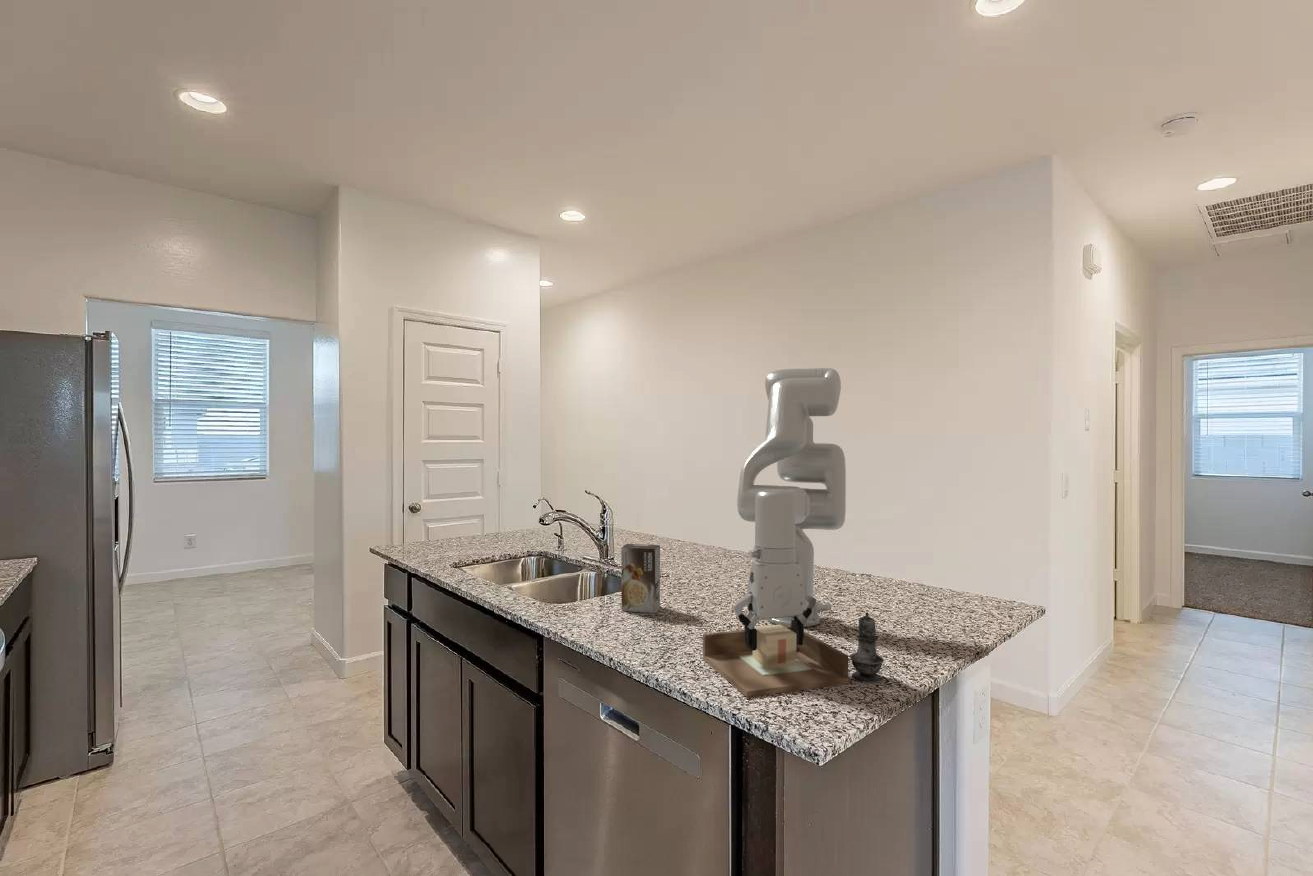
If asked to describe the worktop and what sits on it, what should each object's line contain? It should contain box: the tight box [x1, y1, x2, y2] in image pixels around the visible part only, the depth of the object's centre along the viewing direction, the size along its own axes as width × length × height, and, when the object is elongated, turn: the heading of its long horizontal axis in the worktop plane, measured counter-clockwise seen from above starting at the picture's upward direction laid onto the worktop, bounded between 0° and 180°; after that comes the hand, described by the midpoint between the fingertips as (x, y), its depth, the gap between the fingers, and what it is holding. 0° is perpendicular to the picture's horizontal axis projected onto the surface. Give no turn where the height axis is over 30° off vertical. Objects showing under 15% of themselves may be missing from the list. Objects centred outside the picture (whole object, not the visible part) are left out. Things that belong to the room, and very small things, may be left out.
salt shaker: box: [849, 611, 885, 684], centre depth 115 cm, size 6×6×12 cm
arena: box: [702, 625, 849, 698], centre depth 118 cm, size 20×19×5 cm
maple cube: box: [753, 624, 796, 669], centre depth 119 cm, size 6×6×6 cm
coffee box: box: [620, 543, 661, 614], centre depth 160 cm, size 9×6×16 cm
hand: (774, 645), depth 119 cm, fingers open, 9 cm apart
